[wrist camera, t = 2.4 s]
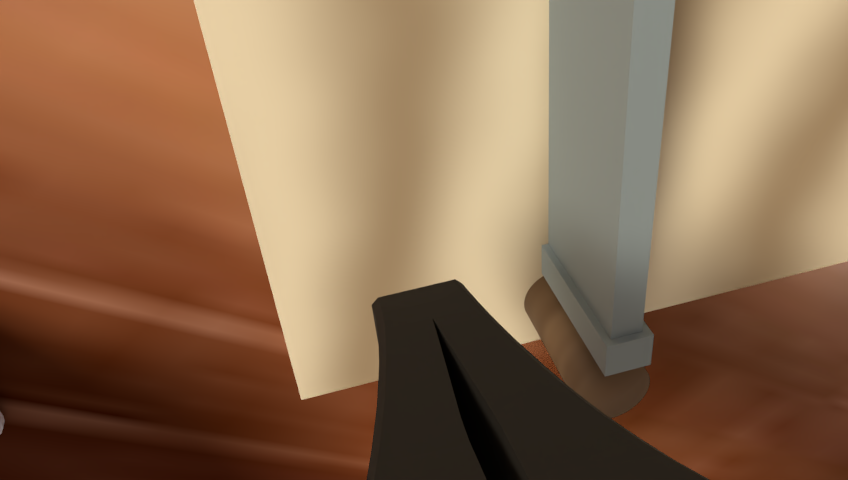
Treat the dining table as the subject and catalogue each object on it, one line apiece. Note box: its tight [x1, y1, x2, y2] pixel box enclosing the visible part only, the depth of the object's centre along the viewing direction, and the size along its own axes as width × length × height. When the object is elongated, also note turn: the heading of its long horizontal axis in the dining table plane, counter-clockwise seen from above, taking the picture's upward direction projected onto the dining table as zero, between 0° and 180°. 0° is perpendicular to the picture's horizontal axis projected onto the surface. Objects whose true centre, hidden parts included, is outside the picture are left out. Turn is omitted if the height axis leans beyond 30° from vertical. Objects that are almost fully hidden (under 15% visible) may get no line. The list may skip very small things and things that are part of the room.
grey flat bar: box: [542, 0, 675, 377], centre depth 17 cm, size 14×1×4 cm, turn 6°
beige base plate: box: [194, 0, 848, 418], centre depth 18 cm, size 20×20×6 cm
